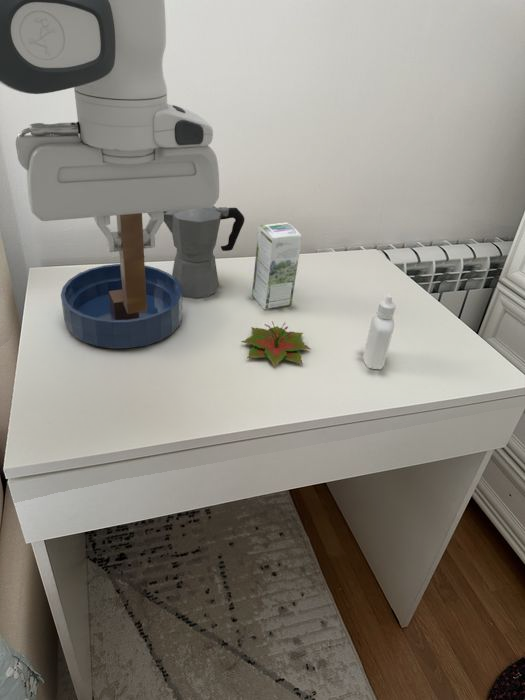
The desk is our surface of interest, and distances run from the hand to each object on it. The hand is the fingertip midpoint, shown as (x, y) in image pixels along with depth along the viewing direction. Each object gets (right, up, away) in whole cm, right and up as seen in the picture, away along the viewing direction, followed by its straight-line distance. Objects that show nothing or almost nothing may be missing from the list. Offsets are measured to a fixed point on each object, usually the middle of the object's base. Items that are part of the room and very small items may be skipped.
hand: (131, 247), depth 62 cm
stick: (-1, -7, +5) cm, 8 cm away
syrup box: (+17, -3, +38) cm, 42 cm away
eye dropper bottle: (+33, -14, +25) cm, 44 cm away
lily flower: (+17, -12, +26) cm, 33 cm away
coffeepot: (+3, 0, +40) cm, 41 cm away
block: (-8, -6, +29) cm, 31 cm away
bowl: (-8, -6, +29) cm, 31 cm away
